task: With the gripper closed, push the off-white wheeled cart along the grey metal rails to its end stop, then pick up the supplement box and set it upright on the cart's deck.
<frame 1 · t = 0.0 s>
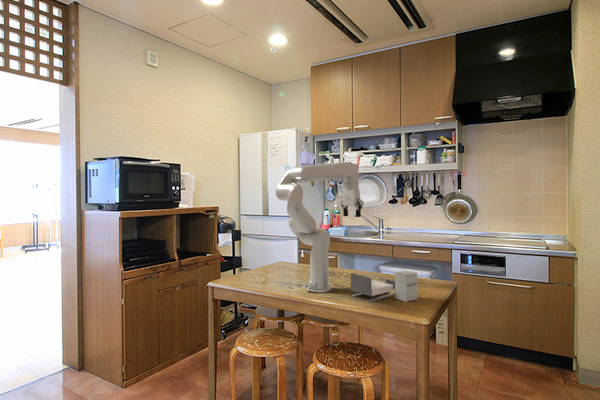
hand: (351, 216, 197), 37 cm above the table, tool pointing down, fingers open, 9 cm apart
rail track: (378, 294, 173), on the table
cart: (371, 284, 170), point 6 cm above the table, slide at 10.0 cm
supplement box: (406, 299, 165), on the table
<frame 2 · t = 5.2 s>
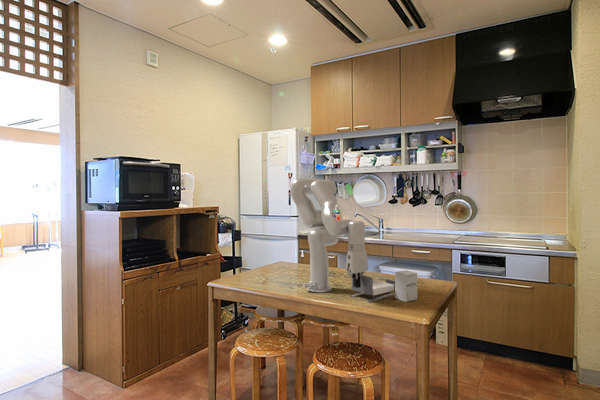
hand: (356, 286, 164), 6 cm above the table, tool pointing down, fingers closed
cart: (372, 283, 170), point 6 cm above the table, slide at 9.2 cm, touching gripper
everything else where it was.
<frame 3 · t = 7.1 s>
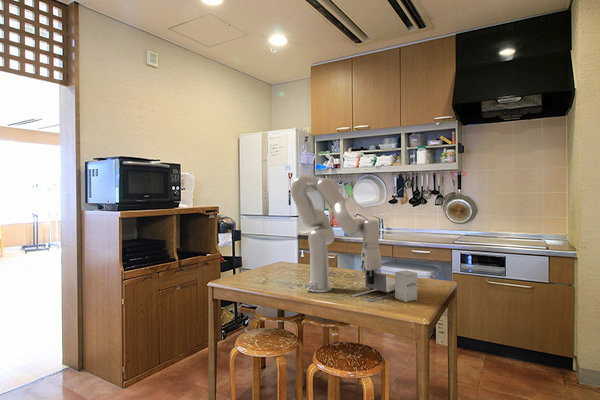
hand: (370, 283, 170), 6 cm above the table, tool pointing down, fingers closed
cart: (385, 280, 176), point 6 cm above the table, slide at -0.3 cm, touching gripper
everything else where it was.
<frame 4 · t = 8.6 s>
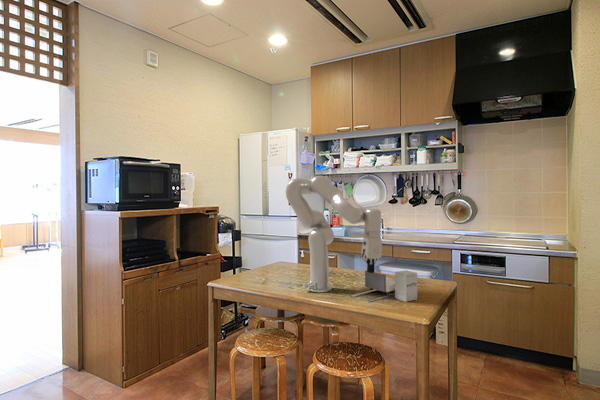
hand: (370, 272, 171), 11 cm above the table, tool pointing down, fingers closed
cart: (384, 280, 176), point 6 cm above the table, slide at 0.0 cm
everything else where it was.
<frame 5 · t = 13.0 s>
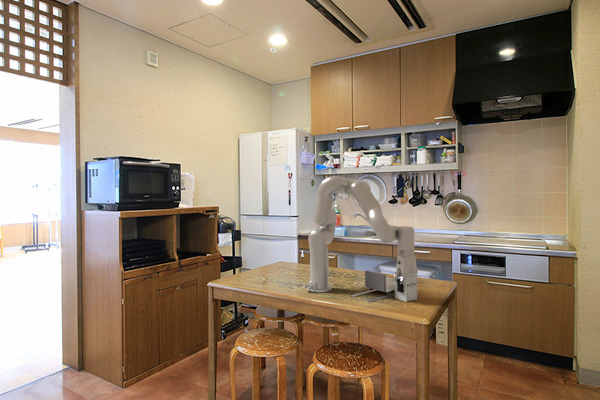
hand: (406, 290, 165), 4 cm above the table, tool pointing down, fingers closed on supplement box, 7 cm apart
supplement box: (406, 299, 165), on the table, touching gripper
everything else where it was.
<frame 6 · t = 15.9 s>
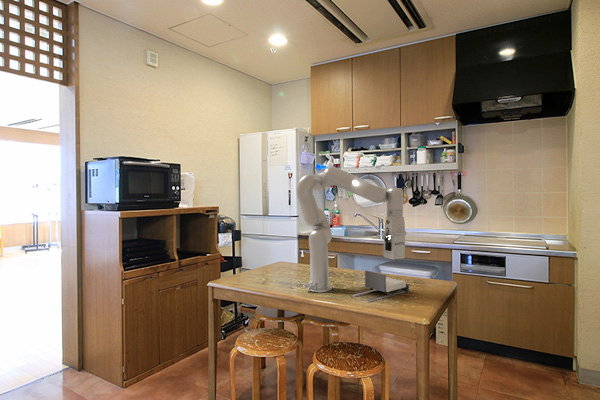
hand: (394, 249, 171), 22 cm above the table, tool pointing down, fingers closed on supplement box, 7 cm apart
supplement box: (393, 258, 171), point 18 cm above the table, touching gripper
everything else where it was.
when the fingers open (10 cm above the table, at t = 19.3 s): supplement box drops 2 cm, resting on cart.
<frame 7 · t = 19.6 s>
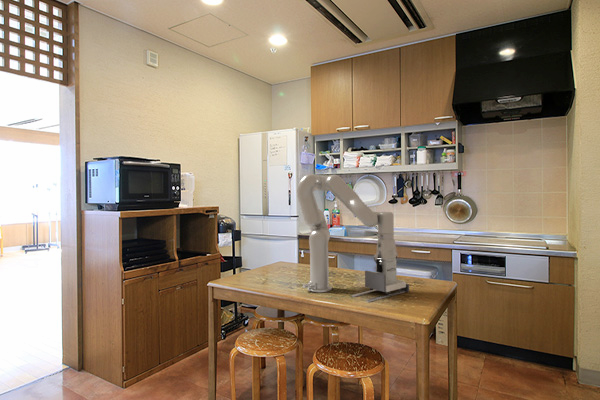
hand: (386, 270, 177), 11 cm above the table, tool pointing down, fingers open, 9 cm apart
cart: (384, 280, 176), point 6 cm above the table, slide at 0.1 cm, touching supplement box
supplement box: (386, 283, 177), point 4 cm above the table, touching cart
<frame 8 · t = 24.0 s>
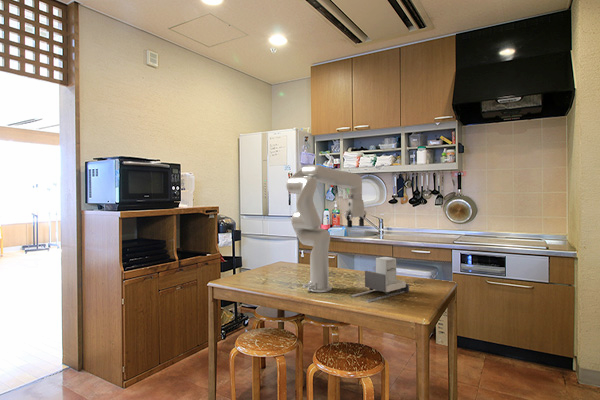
hand: (355, 226, 206), 30 cm above the table, tool pointing down, fingers open, 9 cm apart
nothing on the table moved.
at the end: cart slide at 0.2 cm; supplement box touching cart; supplement box tilted 0° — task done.
